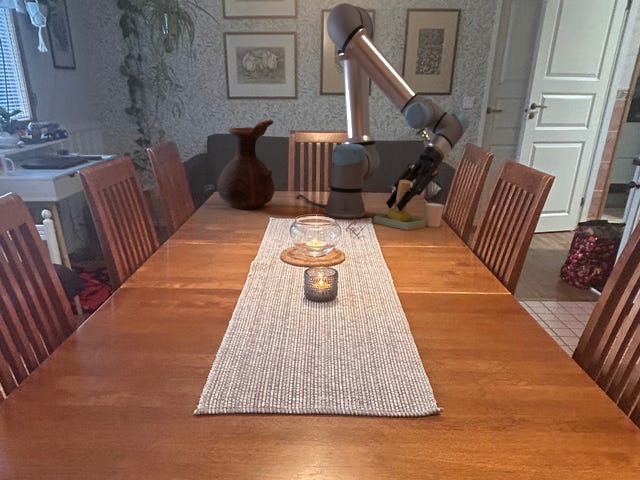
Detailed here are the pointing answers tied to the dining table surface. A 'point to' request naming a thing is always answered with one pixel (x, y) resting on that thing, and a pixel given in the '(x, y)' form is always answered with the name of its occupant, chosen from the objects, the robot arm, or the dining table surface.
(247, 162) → the jug
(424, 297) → the dining table surface
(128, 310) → the dining table surface
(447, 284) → the dining table surface
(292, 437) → the dining table surface
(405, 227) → the tray
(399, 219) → the wooden peg on base
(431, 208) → the white cup
